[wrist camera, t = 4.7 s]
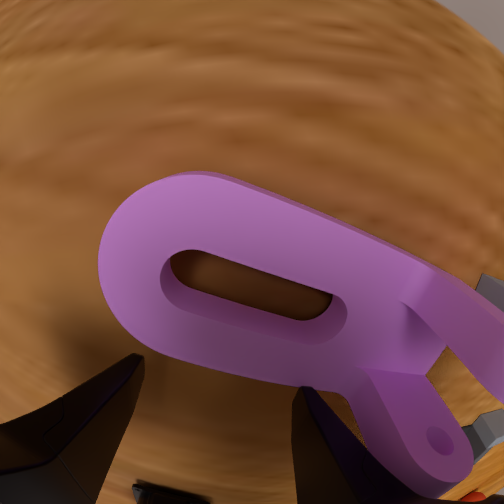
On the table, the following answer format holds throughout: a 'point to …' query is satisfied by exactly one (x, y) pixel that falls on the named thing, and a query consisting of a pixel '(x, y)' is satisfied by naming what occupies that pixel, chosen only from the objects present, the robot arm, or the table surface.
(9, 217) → the table surface
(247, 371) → the bracket
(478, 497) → the tomato
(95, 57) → the table surface
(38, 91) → the table surface
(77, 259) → the table surface
